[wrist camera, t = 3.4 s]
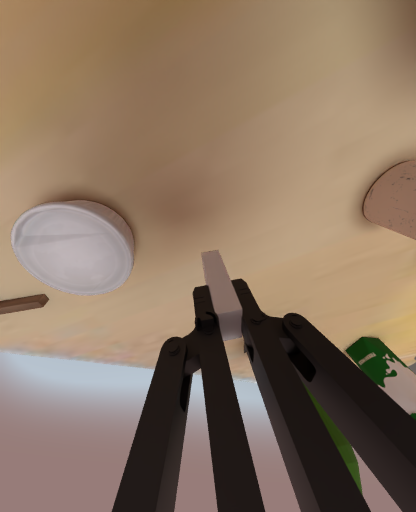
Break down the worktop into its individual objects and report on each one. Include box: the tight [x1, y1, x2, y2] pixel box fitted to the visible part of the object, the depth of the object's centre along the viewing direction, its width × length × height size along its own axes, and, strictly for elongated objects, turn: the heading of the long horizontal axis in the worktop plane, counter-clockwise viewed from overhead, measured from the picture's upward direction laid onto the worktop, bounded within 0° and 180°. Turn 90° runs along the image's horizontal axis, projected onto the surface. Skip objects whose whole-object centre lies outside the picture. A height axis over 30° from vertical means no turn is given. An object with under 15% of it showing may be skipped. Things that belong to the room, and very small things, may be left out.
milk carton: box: [345, 337, 416, 420], centre depth 44 cm, size 9×9×20 cm
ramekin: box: [11, 200, 134, 295], centre depth 21 cm, size 11×11×5 cm
